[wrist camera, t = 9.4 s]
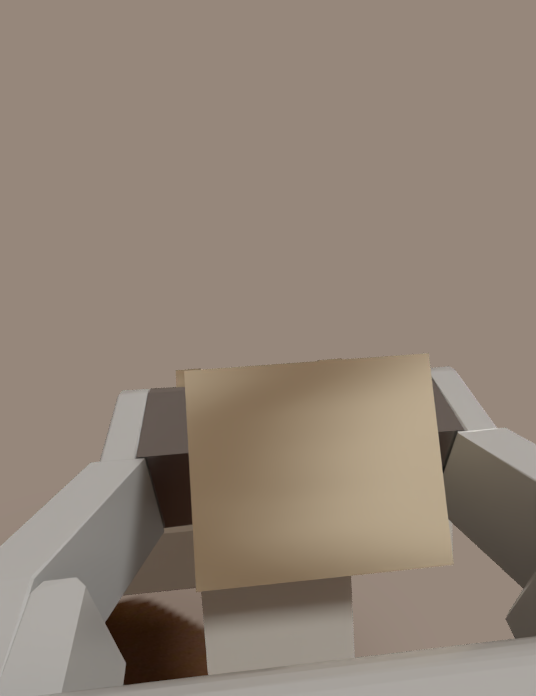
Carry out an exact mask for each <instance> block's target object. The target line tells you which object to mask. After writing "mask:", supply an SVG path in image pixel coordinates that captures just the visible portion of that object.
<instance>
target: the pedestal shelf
mask: <svg viewBox="0 0 536 696" xmlns="http://www.w3.org/2000/svg"><path fill="white" fill-rule="evenodd" d="M448 521H449V529H450V538H451V546H452V545H453V544H452V522H451V521H450V520H449V519H448ZM452 555H453V547H452ZM190 588H196V579H195V561H194V543H193V525H186V526H177V527H169V528H164V533H163V534H162V536H161V537H160V539H159V540H158V542H157V544H156V545H155V547H154V548H153V550H152V551H151V553H150V554H149V556H148V557H147V559H146V560H145V562H144V563H143V565H142V567H141V568H140V570H139V571H138V573H137V574H136V576H135V577H134V579H133V580H132V582H131V583H130V585H129V586H128V588H127V589H126V591H125V593H124V594H123V595H132V594H142V593H152V592H161V591H171V590H180V589H190ZM201 594H202V606H203V618H204V631H205V643H206V655H207V667H208V675H214V674H223V673H231V672H239V671H248V670H256V669H265V668H273V667H281V666H290V665H298V664H307V663H315V662H324V661H332V660H340V659H349V658H355V657H354V636H353V635H354V634H353V611H352V588H351V576H344V577H334V578H325V579H315V580H306V581H296V582H287V583H277V584H268V585H258V586H249V587H239V588H230V589H220V590H211V591H201Z"/></svg>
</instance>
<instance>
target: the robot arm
mask: <svg viewBox="0 0 536 696" xmlns="http://www.w3.org/2000/svg"><path fill="white" fill-rule="evenodd" d="M431 377H432V385H433V394H434V402H435V411H436V419H437V428H438V436H439V445H440V453H441V461H442V470H443V478H444V487H445V495H446V504H447V512H448V519H449V520H450V521H451V522H452V523H453V524H454V525H455V526H456V527H457V528H458V529H459V530H461V531H462V532H463V533H464V534H465V535H466V536H467V537H468V538H469V539H470V540H471V541H472V542H474V543H475V544H476V545H477V546H478V547H479V548H480V549H481V550H482V551H483V552H484V553H486V554H487V555H488V556H489V557H490V558H491V559H492V560H493V561H494V562H495V563H496V564H497V565H499V566H500V567H501V568H502V569H503V570H504V571H505V572H506V573H507V574H508V575H509V576H510V577H511V578H513V579H514V580H515V581H516V582H517V583H518V584H519V585H520V586H521V587H522V588H523V591H522V592H521V594H520V595H519V597H518V598H517V600H516V601H515V603H514V604H513V606H512V607H511V609H510V611H509V613H508V615H507V617H506V621H507V623H508V625H509V627H510V629H511V631H512V633H513V635H514V637H515V639H508V640H500V641H492V642H483V643H475V644H466V645H458V646H450V647H442V648H433V649H424V650H417V651H409V652H399V653H391V654H383V655H375V656H366V657H358V658H349V659H340V660H332V661H324V662H315V663H307V664H298V665H290V666H281V667H273V668H265V669H256V670H248V671H239V672H231V673H223V674H214V675H206V676H197V677H189V678H181V679H172V680H164V681H155V682H147V683H139V684H130V685H123V682H124V675H125V667H126V662H125V660H124V659H123V657H122V655H121V653H120V651H119V649H118V647H117V645H116V643H115V641H114V639H113V638H112V636H111V634H110V632H109V630H108V628H107V626H106V624H105V622H106V620H107V619H108V617H109V615H110V614H111V612H112V611H113V609H114V608H115V606H116V605H117V603H118V602H119V600H120V599H121V597H122V596H123V594H124V593H125V591H126V589H127V588H128V586H129V585H130V583H131V582H132V580H133V579H134V577H135V576H136V574H137V573H138V571H139V570H140V568H141V567H142V565H143V563H144V562H145V560H146V559H147V557H148V556H149V554H150V553H151V551H152V550H153V548H154V547H155V545H156V544H157V542H158V540H159V539H160V537H161V536H162V534H163V533H164V528H169V527H177V526H186V525H193V524H192V506H191V488H190V470H189V451H188V433H187V415H186V396H185V387H173V388H154V389H144V390H126V391H125V390H124V391H122V392H121V393H120V394H119V396H118V398H117V401H116V404H115V408H114V412H113V416H112V419H111V422H110V426H109V430H108V433H107V437H106V441H105V444H104V448H103V452H102V455H101V458H100V462H95V463H90V464H89V465H88V466H87V467H85V468H84V469H83V470H82V471H81V472H80V473H79V474H78V475H77V476H76V477H75V478H73V479H72V480H71V481H70V482H69V483H68V484H67V485H66V486H65V487H64V488H63V489H62V490H61V491H59V492H58V493H57V494H56V495H55V496H54V497H53V498H52V499H51V500H50V501H49V502H48V503H46V504H45V505H44V506H43V507H42V508H41V509H40V510H39V511H38V512H37V513H36V514H35V515H34V516H32V517H31V518H30V519H29V520H28V521H27V522H26V523H25V524H24V525H23V526H22V527H21V528H20V529H19V530H18V531H16V532H15V533H14V534H13V535H12V536H11V537H10V538H9V539H8V540H7V541H6V542H5V543H3V544H2V545H1V546H0V696H536V444H534V443H532V442H530V441H529V440H527V439H525V438H523V437H521V436H520V435H518V434H516V433H514V432H512V431H511V430H509V429H507V428H497V427H496V426H495V425H494V423H493V422H492V421H491V419H490V418H489V416H488V415H487V413H486V412H485V411H484V409H483V408H482V406H481V405H480V404H479V402H478V401H477V400H476V399H475V397H474V395H473V394H472V393H471V391H470V390H469V389H468V387H467V386H466V385H465V383H464V382H463V380H462V379H461V377H460V376H459V375H458V373H457V372H456V371H455V369H453V368H451V367H449V366H447V367H437V368H431Z"/></svg>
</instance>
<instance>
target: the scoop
mask: <svg viewBox="0 0 536 696" xmlns="http://www.w3.org/2000/svg"><path fill="white" fill-rule="evenodd" d="M176 385H177V387H185V396H186V415H187V433H188V451H189V470H190V488H191V506H192V524H193V543H194V561H195V579H196V592H201V591H211V590H220V589H230V588H239V587H249V586H258V585H268V584H277V583H287V582H296V581H306V580H315V579H325V578H334V577H344V576H353V575H362V574H372V573H381V572H391V571H401V570H410V569H419V568H429V567H439V566H448V565H454V564H453V555H452V546H451V538H450V529H449V521H448V512H447V504H446V495H445V487H444V478H443V470H442V461H441V453H440V445H439V436H438V428H437V419H436V411H435V402H434V394H433V385H432V377H431V368H430V360H429V353H427V354H413V355H399V356H385V357H371V358H358V359H343V360H342V359H328V360H318V361H315V362H302V363H287V364H273V365H261V366H260V365H259V366H245V367H232V368H218V369H205V370H204V369H203V370H201V369H188V370H176Z"/></svg>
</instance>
